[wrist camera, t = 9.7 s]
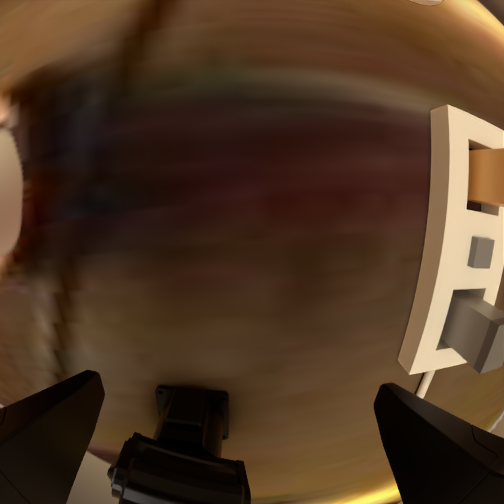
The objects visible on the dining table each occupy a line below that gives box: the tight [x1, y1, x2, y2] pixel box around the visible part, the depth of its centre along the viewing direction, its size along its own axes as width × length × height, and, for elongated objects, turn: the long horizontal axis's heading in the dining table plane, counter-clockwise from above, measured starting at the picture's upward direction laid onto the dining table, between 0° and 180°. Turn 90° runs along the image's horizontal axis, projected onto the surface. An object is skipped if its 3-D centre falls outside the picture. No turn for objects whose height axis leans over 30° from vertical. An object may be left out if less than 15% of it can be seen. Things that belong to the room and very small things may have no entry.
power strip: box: [398, 105, 504, 399], centre depth 20 cm, size 32×9×3 cm, turn 177°
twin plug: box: [440, 289, 504, 374], centre depth 18 cm, size 4×3×8 cm
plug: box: [467, 148, 504, 207], centre depth 15 cm, size 4×3×8 cm
